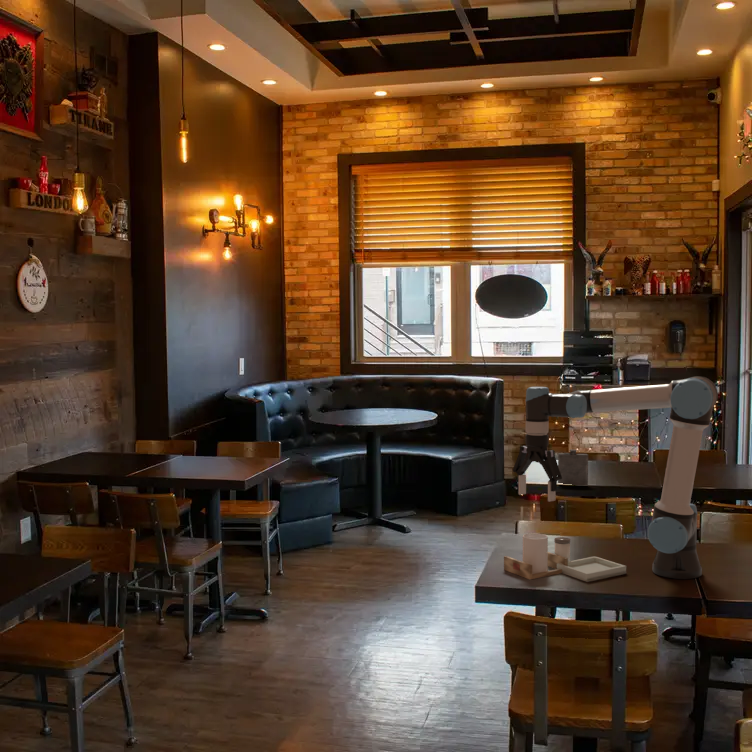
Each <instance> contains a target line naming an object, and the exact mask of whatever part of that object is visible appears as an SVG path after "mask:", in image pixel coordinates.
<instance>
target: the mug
mask: <svg viewBox="0 0 752 752" xmlns="http://www.w3.org/2000/svg"><path fill="white" fill-rule="evenodd" d="M548 539H549V537H548V535H547V534H545V533H544V534H543V533H540V532H539V533H537V532H535V533H534V532H532V533H531V532H529V533H525V534H522V562H525V563H528V564H531V565H532V574H536V573H541V572H546V571H549V566H548V552H549V551H548V550H549V548H548V547H549V544H548V543H549V540H548Z"/></svg>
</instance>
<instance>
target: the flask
mask: <svg viewBox="0 0 752 752" xmlns="http://www.w3.org/2000/svg"><path fill="white" fill-rule="evenodd" d="M577 451H578V450H577V449H569V452H564V453H557V464H558V467H559V470H560V473H561V476H562V479H561V480H558V481H557V484H558V483H563V484H572V485H588V486H589V454H587V453H577Z"/></svg>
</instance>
